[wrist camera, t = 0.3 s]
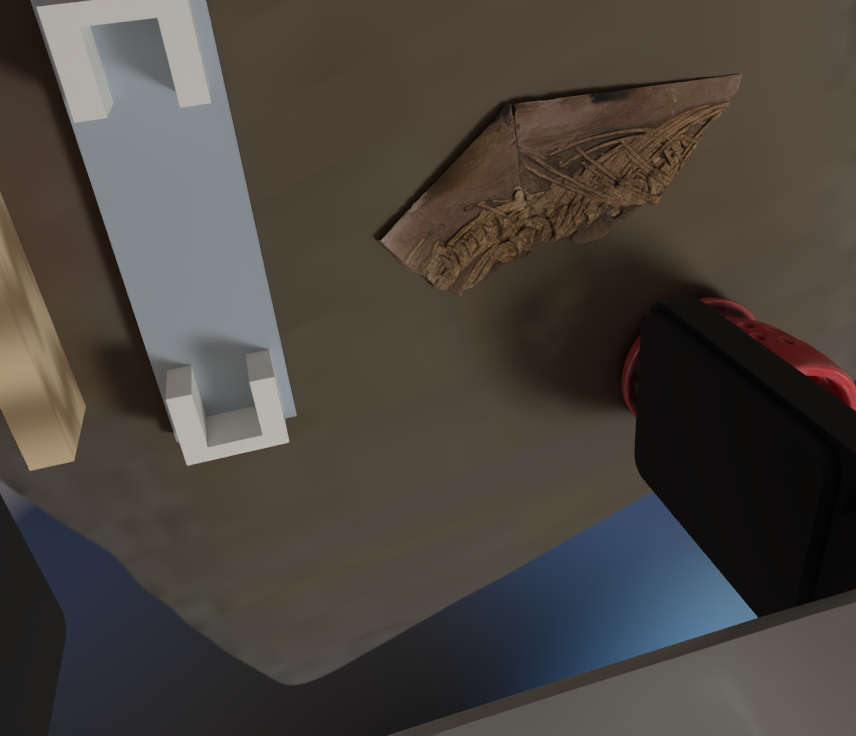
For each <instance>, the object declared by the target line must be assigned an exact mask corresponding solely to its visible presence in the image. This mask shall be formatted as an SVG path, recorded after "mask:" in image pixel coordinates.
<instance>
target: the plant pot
mask: <svg viewBox="0 0 856 736" xmlns="http://www.w3.org/2000/svg"><path fill="white" fill-rule="evenodd" d="M700 300H701V301H703V302H704V303H705V304H707V305H708V306H710V307H711V308H712V309H714V310H715V311H717V312H718V313H719V314H721V315H722V316H724V317H725V318H726V319H728V320H729V321H731V322H732V323H733V324H735V325H736V326H738V327H739V328H740V329H742V330H743V331H745V332H746V333H747V334H749V335H750V336H752V337H753V338H754V339H756V340H757V341H759V342H760V343H761V344H763V345H764V346H766V347H767V348H768V349H770V350H771V351H773V352H774V353H775V354H777V355H778V356H780V357H781V358H782V359H784V360H785V361H787V362H788V363H789V364H791V365H792V366H794V367H795V368H796V369H798V370H799V371H801V372H802V373H803V374H805V375H806V376H808V377H809V378H810V379H812V380H813V381H815V382H816V383H817V384H819V385H820V386H822V387H823V388H824V389H826V390H827V391H829V392H830V393H831V394H833V395H834V396H836V397H837V398H838V399H840V400H841V401H843V402H844V403H845V404H847V405H848V406H850V407H851V408H852V409H854V410H855V411H856V386H855V384H854V382H853V381H852V379H851V378H850V377H849V376H848V375H847V374H846V373H845V372H844V371H843V370H842V369H841V368H840V367H839V366H838V365H836V364H835V363H834V362H833V361H832V360H830V359H829V358H828V357H827V356H825V355H824V354H822V353H821V352H820V351H818V350H817V349H815V348H813V347H812V346H810V345H809V344H807V343H805V342H803V341H801V340H799V339H797V338H795V337H793V336H791V335H789V334H787V333H785V332H783V331H782V330H780V329H777V328H775V327H773V326H771V325H768V324H765V323H762V322H758V321H756V319H755V318H754V316H753V315H752V314H751V312H750V311H749V310H748V309H747V308H745V307H744V306H743V305H741V304H739V303H737V302H735V301H732V300H729V299H725V298H701V299H700ZM639 350H640V335H639V337H638V338H637V339H636V341H635V342H634V344H633V345H632V347H631V349H630V351H629V353H628V355H627V358H626V360H625V364H624V368H623V373H622V392H623V397H624V400H625V403H626V405H627V407H628V409H629V410H630V411H631V413H632V414H633V415H634V416H635V417H636V411H637V391H638V370H639ZM824 377H825V378H826V379H825V378H824ZM826 380H827V381H828V382H827V381H826Z"/></svg>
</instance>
